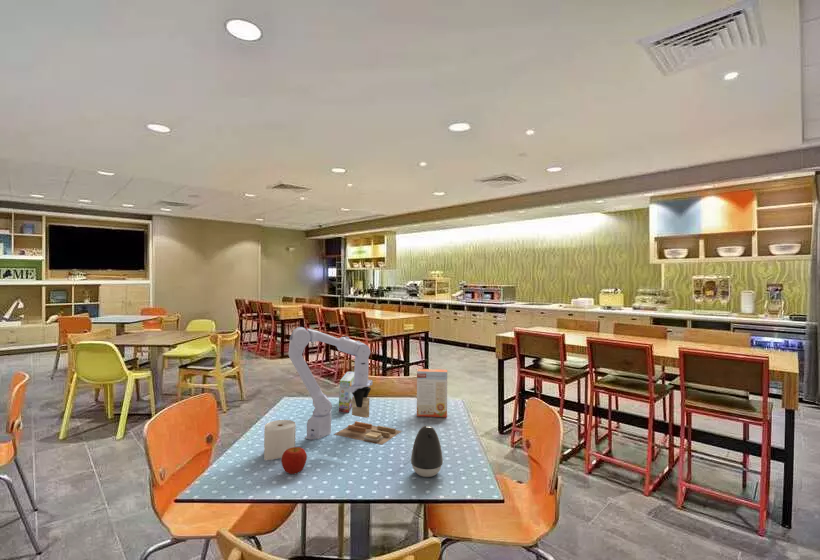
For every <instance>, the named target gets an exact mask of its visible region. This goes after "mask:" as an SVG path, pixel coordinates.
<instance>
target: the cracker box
mask: <svg viewBox="0 0 820 560" xmlns="http://www.w3.org/2000/svg"><path fill="white" fill-rule="evenodd" d="M416 417H426V418H427V417H429V418H433V417H434V418H448V369H435V368H432V369H431V368H418V369H417V371H416Z"/></svg>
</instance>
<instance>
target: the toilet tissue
mask: <svg viewBox="0 0 820 560" xmlns="http://www.w3.org/2000/svg"><path fill="white" fill-rule="evenodd" d="M296 424H297V423H296V422H295V421H294V420H291V419H289V420H288V419H278V420H273V421H270V422H267V423H266V424H264V429H263V430H264V431H263V432H264V434H263V435H264V436H263V437H264V438H263V448H264V449H263V455H264V456H263V457H264V458H263V461H272V460H276V459H278V460H279V459H281V458H282V455H283V453H284V452H285V451H286V450H287V449H289V448H293V447H296V436H297V435H296V431H297V430H296V429H297V428H296V427H297V425H296Z"/></svg>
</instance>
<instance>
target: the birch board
mask: <svg viewBox="0 0 820 560" xmlns="http://www.w3.org/2000/svg"><path fill="white" fill-rule="evenodd" d="M351 416H353V417H354V416H356V417H360V418H365V419H367V418H369V417H370V397H367V398H366V397H363V402H362V407H357V406H356V402H355V398H354V396H353V397H352V408H351Z"/></svg>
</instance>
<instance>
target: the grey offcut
mask: <svg viewBox="0 0 820 560" xmlns="http://www.w3.org/2000/svg"><path fill="white" fill-rule="evenodd" d="M382 439H383V436H381V437H380V438H378V439H372V438H367V437H364V440H368V441H373V442H377V443H378V442H379V441H381V440H382Z"/></svg>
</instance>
